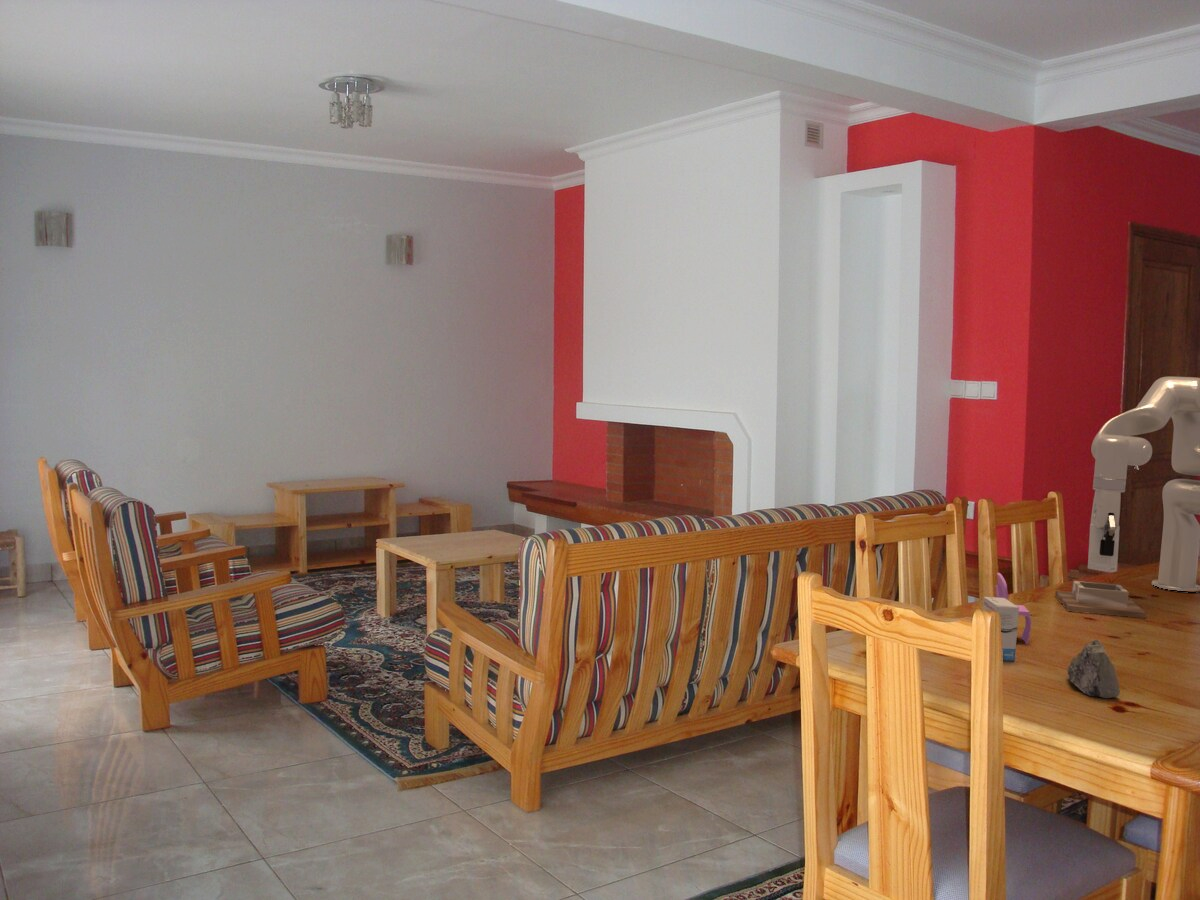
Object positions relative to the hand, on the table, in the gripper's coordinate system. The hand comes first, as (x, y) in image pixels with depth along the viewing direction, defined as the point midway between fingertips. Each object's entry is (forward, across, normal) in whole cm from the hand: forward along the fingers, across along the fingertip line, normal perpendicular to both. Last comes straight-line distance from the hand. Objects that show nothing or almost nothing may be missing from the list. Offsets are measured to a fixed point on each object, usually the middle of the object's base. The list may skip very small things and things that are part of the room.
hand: (1103, 552), depth 269 cm
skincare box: (+5, 0, 0) cm, 5 cm away
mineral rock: (+15, +76, -16) cm, 79 cm away
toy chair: (+15, +44, -28) cm, 54 cm away
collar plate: (+15, 0, 0) cm, 15 cm away
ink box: (+15, +59, -32) cm, 69 cm away
